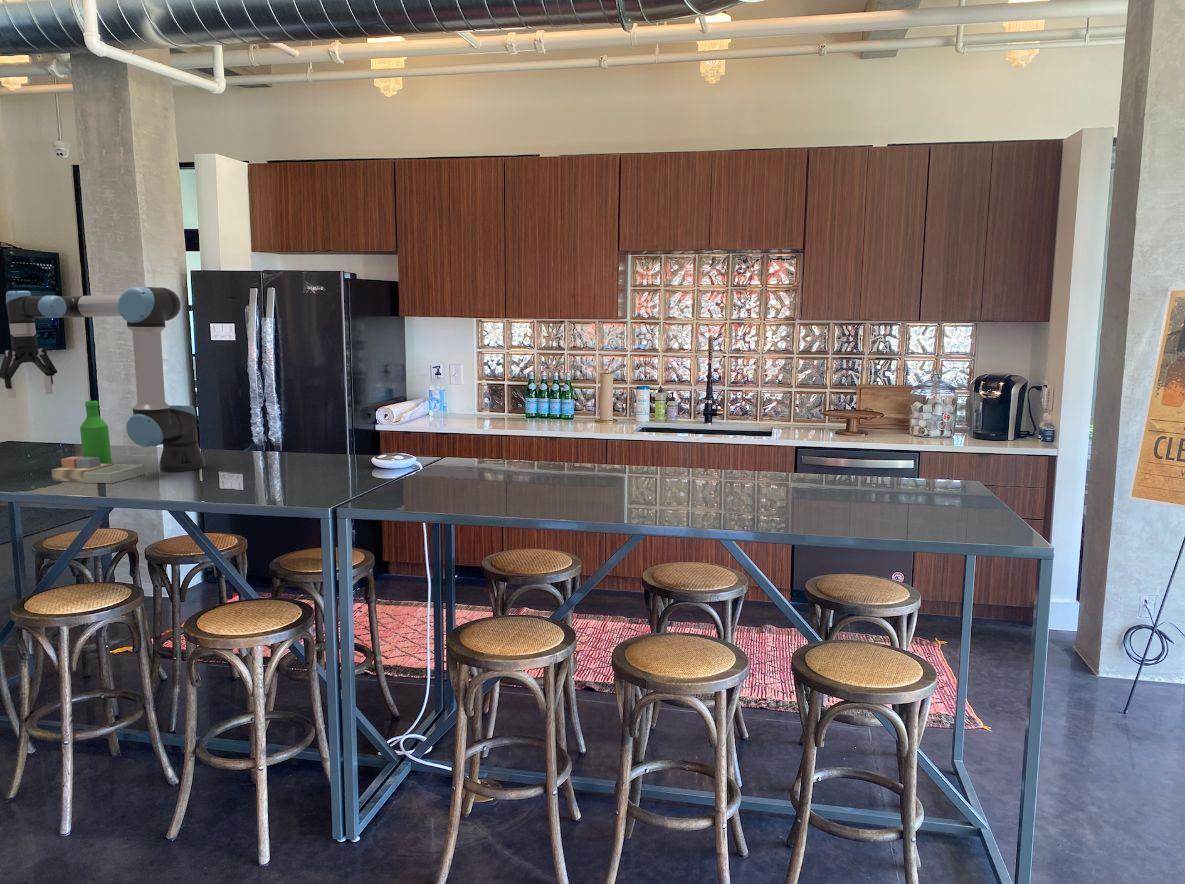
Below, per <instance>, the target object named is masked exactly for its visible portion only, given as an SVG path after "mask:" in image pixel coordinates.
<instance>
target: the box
mask: <svg viewBox="0 0 1185 884" xmlns="http://www.w3.org/2000/svg"><path fill="white" fill-rule="evenodd" d="M145 472H146V471H145V464H125V463H123V464H122V463H121V464H120V463H117V464H113V466H109V467H105V468H101V469H97V470H93V471H89V472H85V473H83V477H84V482H83V484H93V483H106V484H105V485H112V483H113V484H116V482H117V483H120V482H124V481H127V480H131V479H134V478H133V477H135V478H138V477H141V476H140V475H142V476H145V474H146V473H145ZM137 476H138V477H137ZM130 478H131V479H130ZM126 479H127V480H126ZM123 480H124V481H123ZM119 481H120V482H119ZM107 483H109V484H107Z"/></svg>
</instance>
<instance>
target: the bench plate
mask: <svg viewBox="0 0 1185 884" xmlns="http://www.w3.org/2000/svg"><path fill="white" fill-rule="evenodd" d="M113 465H114V464H113V463H112V464H101V466H97V467H93V468H62V466H61V467H57V468H52V469H51V477H52V482H71V483H72V482H73V483H74V482H78V483H84V477H83V473H85V472H89V471H93V470H97V469H101V468H105V467H109V466H113Z"/></svg>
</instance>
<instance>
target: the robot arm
mask: <svg viewBox="0 0 1185 884" xmlns="http://www.w3.org/2000/svg"><path fill="white" fill-rule="evenodd" d="M5 305H6V310H7V315H8V316H7V317H8V326H9V333H10V335H11V338H10V341H11V347H12V348H13V350H9V349H8V350H7V349H6V350H4V352H3V355H4V357H3V359H2V363H1V365H0V379H2V380H4V387H5V389H7V395H8V399H17V392H16V385H15V379H14V378H13V377H14V375H15V373H16V372H17V370H18V369H19V367H20V366H21V365H22V364H24V363H25V364H26V363H32V364H34V365H35V366H36V367H37V368H38V369H39V370H40V371H41V372H42V373H43V374H44V376H43V385H44V393H45V395H53V394H54V392H53V384H54V380H53V376H55V375H56V374H57V373H58V370H57V368H56V367H55V365H54V364H53V362H52V360H51V358H50V357H49V355H48V352H47V349H46V348H37V347H38V338H37V336H36V334H37V331H36V330H37V329H36V323H35V319H56V318H57V319H59V318H90V317H91V318H96V317H97V318H98V317H99V318H101V317H102V318H103V317H121V318H122V319H123V320H125V321H126V328H127V329H128V330H130V331H131V333H132V343H133V344H132V345H133V357H134V358H133V359H134V372H135V388H136V389H135V390H136V403H135V404H134V406H132V416H130V417H129V418H128V420H127V421H126V426H125V429H126V433H127V435H128V437H129V439H130V440H131V441H132V442H133V443H134V444H135V445H137V446H139V447H143V448H150V447H151V448H152V447H157V446H161V445H162V450H161V455H160V459H159V463H158V464H159V465H158V467H159V471H160V472H170V473H171V472H186V471H193V470H198V469H203V468H205V467H206V460H205V458H204V455H203V453H202V450H201V449H200V446H199V439H198V438H199V437H198V427H197V426H198V424H197V414H196V409H195V407H194V406H192V405H178V404H177V405H173V404H172V405H169V404H168V403H167V402H166V395H165V380H164V379H165V378H164V375H165V374H164V361H163V360H164V359H163V346H162V344H163V343H162V331H163V330H165V328H166V322H168V321H170V320H173V319H175V318H176V317H177V316H178V315H179V314H180V311H181V306H182V304H181V299H180V297H179V295H177V293H176V292H174V290H171V289H170V288H167V287H157V286H156V287H153V286H152V287H151V286H135V287H129V288H127V289H125V291H123V292H122V293H121V294H106V295H72V296H71V295H70V296H69V295H68V296H65V295H62V296H59V295H49V294H48V295H41V296H40V295H37V296H36V295H35V296H32V293H31V291H29V290H9V291H7V292H6V293H5ZM38 355H39V357H38ZM13 357H14V358H13ZM41 360H42V361H41Z"/></svg>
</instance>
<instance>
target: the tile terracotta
mask: <svg viewBox="0 0 1185 884" xmlns="http://www.w3.org/2000/svg"><path fill="white" fill-rule="evenodd" d="M80 458H85V457H83V456H69V457H65V458H61V460H60V462H61V467H62V468H77V463H76V459H80Z"/></svg>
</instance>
